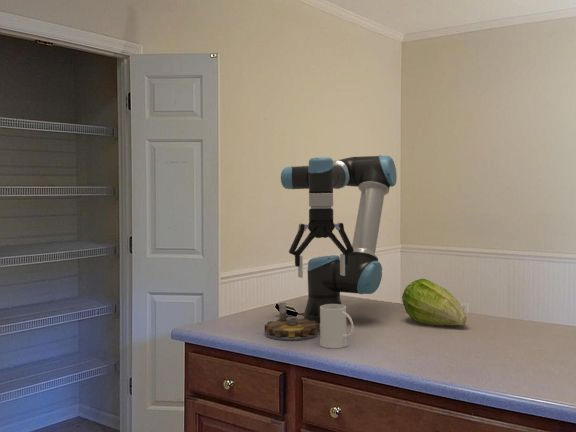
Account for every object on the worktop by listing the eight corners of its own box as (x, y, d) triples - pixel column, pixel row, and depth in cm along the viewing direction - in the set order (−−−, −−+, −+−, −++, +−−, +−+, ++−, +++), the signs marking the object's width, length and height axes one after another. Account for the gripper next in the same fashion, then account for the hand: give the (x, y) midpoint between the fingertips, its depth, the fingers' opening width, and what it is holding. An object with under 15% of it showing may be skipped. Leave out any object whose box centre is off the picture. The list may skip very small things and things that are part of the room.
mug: (361, 346, 179) (360, 307, 179) (342, 352, 174) (341, 312, 173) (333, 339, 188) (332, 302, 187) (314, 344, 182) (313, 306, 182)
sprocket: (330, 332, 193) (329, 308, 193) (280, 340, 184) (280, 315, 184) (302, 320, 209) (301, 299, 209) (255, 328, 200) (255, 305, 200)
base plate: (313, 324, 208) (313, 322, 207) (325, 338, 189) (325, 336, 189) (261, 328, 204) (261, 325, 204) (268, 342, 186) (268, 339, 186)
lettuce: (473, 335, 204) (444, 347, 194) (419, 303, 222) (390, 313, 213) (482, 297, 198) (453, 308, 189) (426, 267, 217) (396, 276, 207)
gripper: (355, 206, 188) (355, 272, 189) (279, 208, 182) (279, 276, 183) (363, 207, 180) (363, 276, 181) (284, 208, 175) (285, 279, 176)
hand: (321, 276), depth 182 cm, fingers open, 13 cm apart
